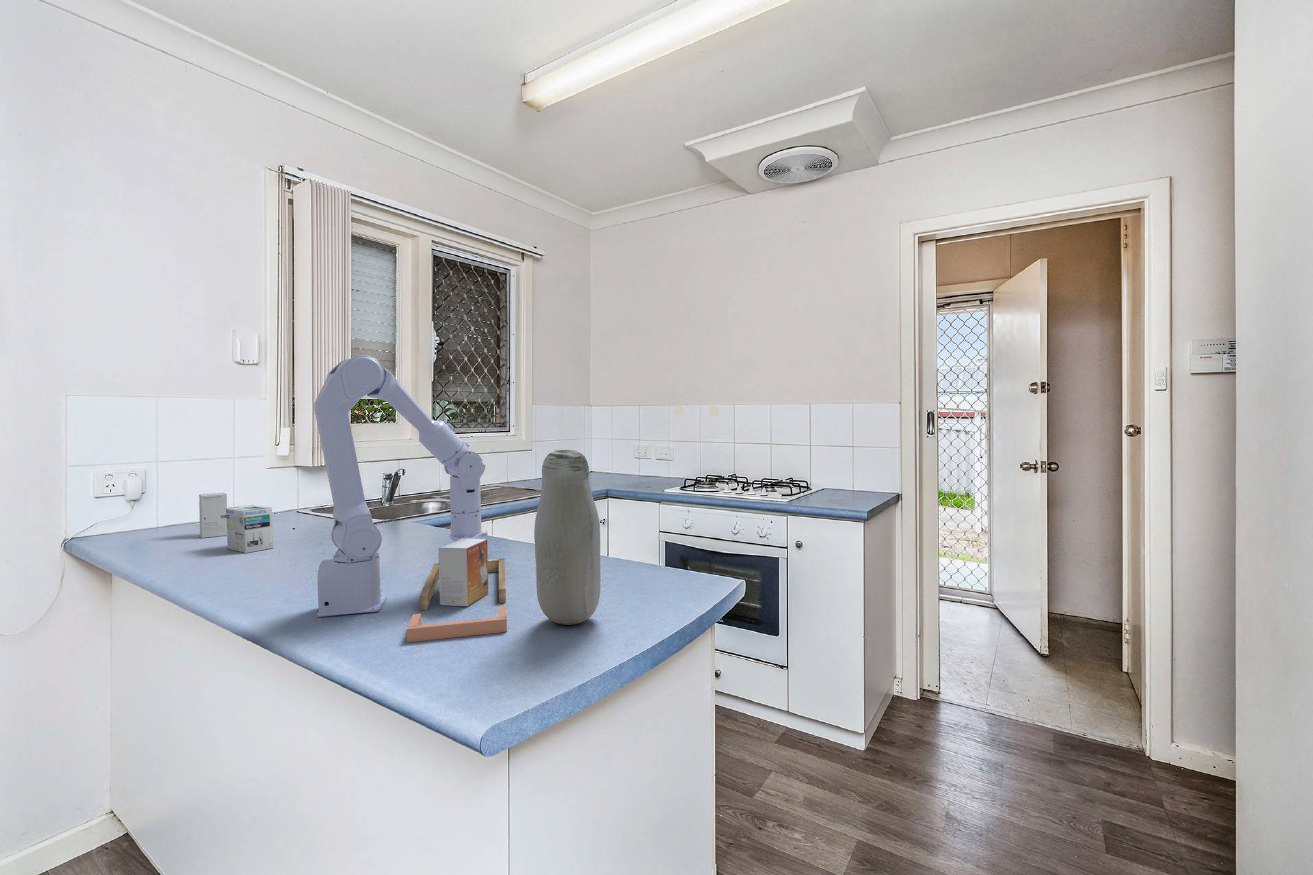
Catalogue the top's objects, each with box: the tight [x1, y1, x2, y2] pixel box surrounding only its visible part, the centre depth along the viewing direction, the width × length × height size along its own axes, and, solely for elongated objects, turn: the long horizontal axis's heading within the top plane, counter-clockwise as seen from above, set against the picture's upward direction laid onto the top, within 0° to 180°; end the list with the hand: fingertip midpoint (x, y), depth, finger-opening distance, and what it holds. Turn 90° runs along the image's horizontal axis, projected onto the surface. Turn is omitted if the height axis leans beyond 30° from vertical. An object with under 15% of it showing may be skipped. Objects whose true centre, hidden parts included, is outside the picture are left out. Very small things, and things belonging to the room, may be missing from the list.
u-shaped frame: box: [419, 558, 507, 611], centre depth 113 cm, size 14×23×2 cm, turn 15°
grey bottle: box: [533, 449, 601, 626], centre depth 93 cm, size 10×10×28 cm
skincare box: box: [198, 492, 228, 539], centre depth 165 cm, size 6×4×12 cm
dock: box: [406, 605, 508, 643], centre depth 91 cm, size 14×7×2 cm, turn 105°
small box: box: [438, 538, 489, 607], centre depth 106 cm, size 8×6×10 cm
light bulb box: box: [226, 504, 275, 554], centre depth 149 cm, size 11×7×11 cm, turn 58°
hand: (467, 579), depth 114 cm, fingers closed
